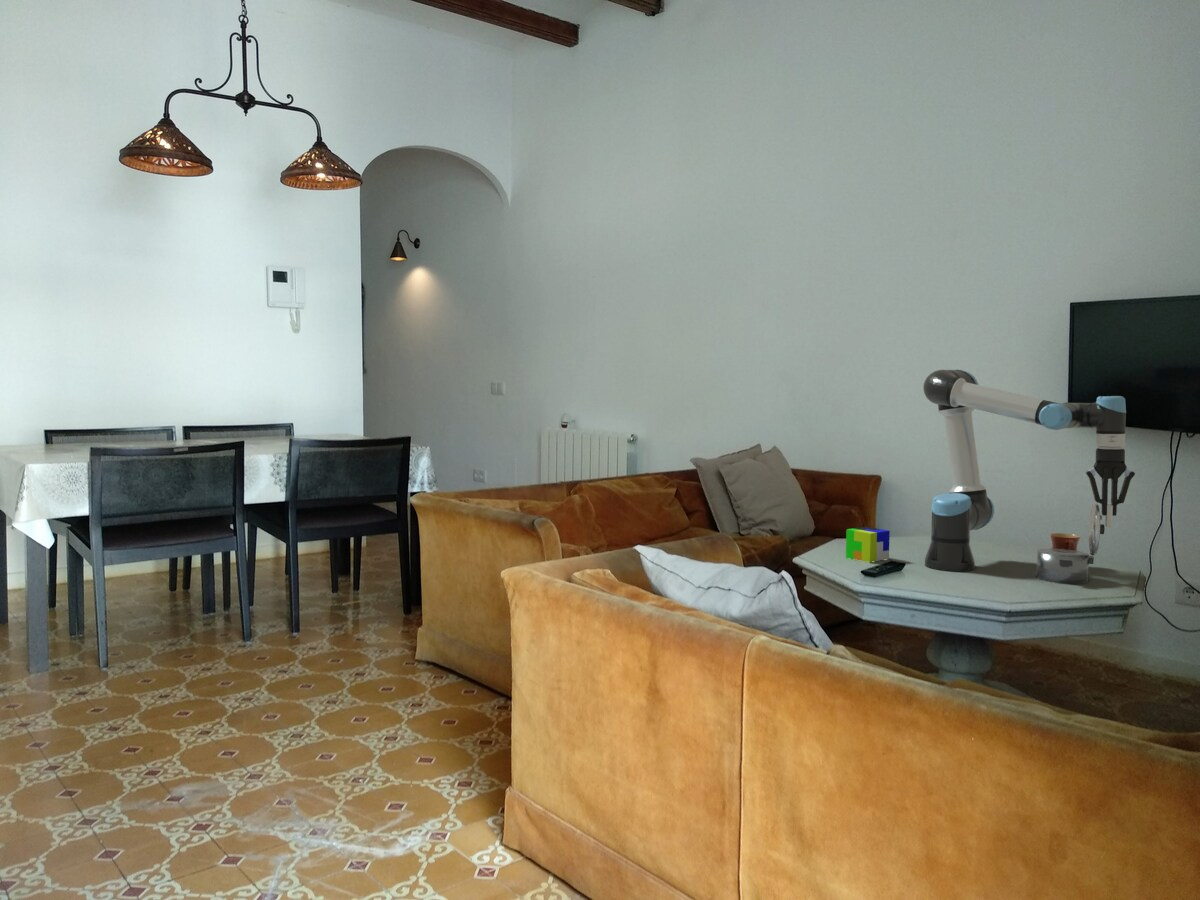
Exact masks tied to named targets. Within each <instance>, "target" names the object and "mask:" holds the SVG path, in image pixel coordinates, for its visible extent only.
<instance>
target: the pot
mask: <svg viewBox="0 0 1200 900" xmlns="http://www.w3.org/2000/svg"><path fill="white" fill-rule="evenodd" d="M1094 560H1095V559H1094V555H1090V553H1086V552H1083V551H1080V550H1077V551H1075V550H1067V549H1052V548H1041V549H1038V550H1037V552H1036V570H1035V571H1036V574H1035V575H1036V576H1035V577H1036V578H1037V579H1038V578H1039V580H1041V581H1044V580H1045V581H1044V582H1048V581H1049V583H1054V582H1055V583H1054V584H1062V585H1063V584H1067V585H1081V584H1082V585H1083V584H1087V583H1088V582H1089V565H1094V564H1095V563H1094Z"/></svg>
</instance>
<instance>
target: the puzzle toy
mask: <svg viewBox="0 0 1200 900" xmlns="http://www.w3.org/2000/svg"><path fill="white" fill-rule="evenodd" d="M890 532H891V530H888V529H881V528H876V527H869V526H862V527H861V526H860V527H854V528H847V529H846V531H845V533H846V534H845V537H846V539H845V541H846V542H845V559H848V558H851V559H850V560H853V559H857V560H862V561H868V562H872V561H878V560H884V559H889V560H890ZM857 560H856V561H857ZM862 561H861V562H862ZM884 561H885V560H884Z"/></svg>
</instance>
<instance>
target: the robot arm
mask: <svg viewBox="0 0 1200 900" xmlns="http://www.w3.org/2000/svg"><path fill="white" fill-rule="evenodd" d="M922 390H923V393H924V396H925V397H926V399H927V400H928V401H929V402H931V403H932V404H935V405H937V408H938V413H940V414H941V415H942V416H943V417H944V425H945V432H946V440H947V441H946V442H947V450H948V457H949V464H950V465H949V466H950V472H951V481H952V487H951V488H950V490H949V491H948V492H947V493H941V494H938V495H936V496H934V497H933V498H932V502H931V503H932V504H931V529H930V530H931V536H930V543H929V547H928V550H927V551H926V554H925V557H924V566H926V567H927V568H931V569H935V570H940V571H941V570H942V571H951V572H967V571H972V570H974V569H975V563H976V562H975V558H974V556H973V555H974V554H973V552H972V549H971V546H970V545H971V544H970V542H971V541H970V539H971V538H970V537H971V536H970V535H971V531H977V530H980V529H982V528H984V527H985V526H988V524H989V523H991V521H992V520H993V518H994V515H995V506H994V503H993V501H992V499H990V498H989V497H988V494H987V488H986V487H985V486H983V485H982V483H981V478H980V471H979V470H980V469H979V463H978V453H977V448H976V439H975V431H974V424H973V417H972V415H973V414H972V413H973V411H974V410H978V411H982V412H986V413H990V414H995V415H998V416H1003V417H1007V418H1011V419H1014V420H1015V419H1016V420H1019V421H1024V422H1028V423H1033V424H1036V425H1040V426H1042V427H1045V428H1046V429H1048V430H1054V431H1059V430H1064V429H1072V428H1075V429H1076V428H1081V429H1082V428H1084V429H1085V428H1087V429H1088V428H1090V429H1096V430H1095V433H1096V434H1095V435H1096V436H1095V446H1096V447H1097V448H1096V449H1095V463H1094V464H1093V467H1092V468H1090V469H1089V470H1086V471H1085V475H1086V476H1087V477H1088V479H1089V483H1090V487H1091V491H1092V494H1093V498H1094V501H1095V502H1096V504H1100V505H1101V516H1105V524H1104V527H1106V528H1113V517H1115V516H1116V517H1117V511H1118V509H1117V508H1118V507H1117V506H1118V505H1120V504H1124V502H1125V499H1126V496H1127V493H1128V490H1129V487H1130V483H1131V481H1132V479H1133V478H1134V476H1135V475H1136V473H1135V472H1134V470H1133V471H1132V470H1130V469H1128V468H1127V465H1126V463H1125V461H1126V449H1125V448H1124V447H1126V418H1127V415H1126V414H1127V410H1126V409H1127V408H1126V407H1127V405H1126V398H1125V397H1124V396H1121V395H1111V396H1109V395H1107V396H1101V395H1099V396H1098V397H1096V401H1095V402H1056V401H1051V400H1045V399H1041V398H1037V397H1033V396H1028V395H1023V394H1020V393H1016V392H1015V393H1014V392H1011V391H1006V390H1003V389H1002V390H1001V389H997V388H994V387H988V386H984V385H980V384H979V383H978V381H977V379H976V377H975V376H974V375H973V374H972V373H971V372H968V371H966V370H962V369H939V370H937V369H936V370H935V371H933V372H931V373H929V375H928V376H927V377H925V380H924V383H923V389H922ZM1095 472H1096V473H1097V475H1099V478H1101V496H1100V493H1099V489H1098V485H1097V481H1096V479H1095V478H1096V477H1095V476H1096V473H1095ZM1123 474H1124V478H1123V483H1122V484H1121V485H1122V486H1121V489H1120V492H1119V496H1118V484H1119V483H1118V482H1119V478H1120V477H1121V476H1122V475H1123ZM1109 480H1111V481H1110V483H1111V484H1110V485H1111V486H1110V487H1111V490H1110V491H1111V492H1110V494H1111V495H1110V497H1111V498H1110V503H1111V504H1108V499H1109V497H1108V493H1109V490H1108V489H1109V487H1108V486H1109V485H1108V484H1109Z"/></svg>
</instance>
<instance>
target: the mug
mask: <svg viewBox="0 0 1200 900" xmlns="http://www.w3.org/2000/svg"><path fill="white" fill-rule="evenodd" d="M1049 537H1050V539H1051V549H1067V550H1075V551H1078V545H1079V541H1080V539H1081V536H1080V535H1078V534H1075V533H1066V532H1064V533H1063V532H1053V533H1050V534H1049Z"/></svg>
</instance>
